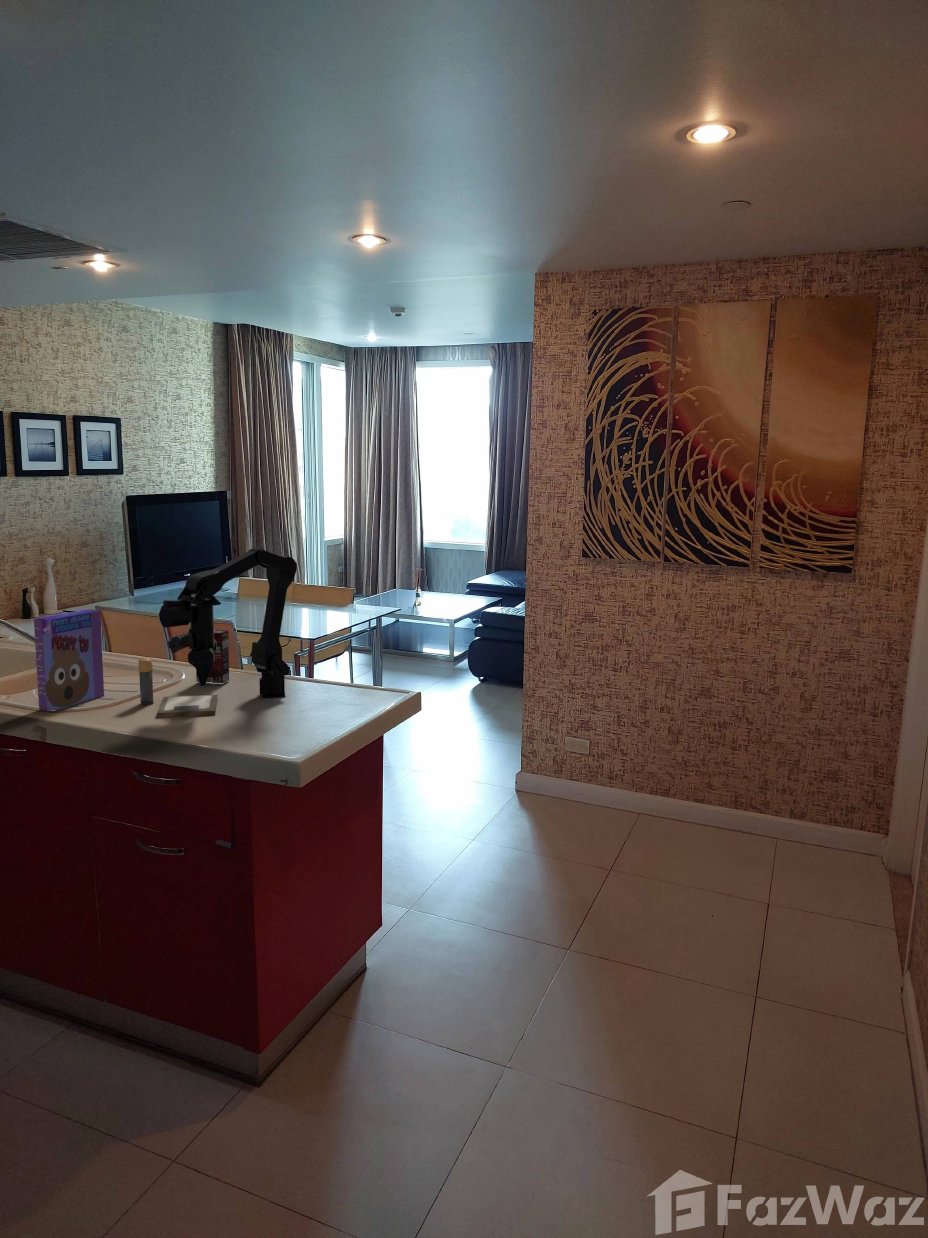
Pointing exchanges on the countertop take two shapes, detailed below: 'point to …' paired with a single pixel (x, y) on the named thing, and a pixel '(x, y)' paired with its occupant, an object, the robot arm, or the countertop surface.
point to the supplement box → (220, 658)
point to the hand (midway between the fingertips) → (203, 682)
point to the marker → (146, 681)
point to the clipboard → (187, 706)
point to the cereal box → (69, 659)
